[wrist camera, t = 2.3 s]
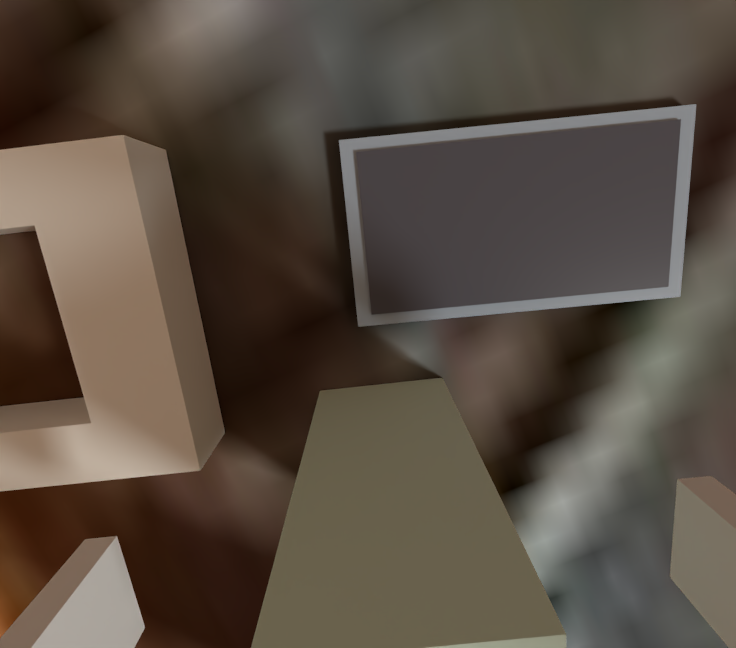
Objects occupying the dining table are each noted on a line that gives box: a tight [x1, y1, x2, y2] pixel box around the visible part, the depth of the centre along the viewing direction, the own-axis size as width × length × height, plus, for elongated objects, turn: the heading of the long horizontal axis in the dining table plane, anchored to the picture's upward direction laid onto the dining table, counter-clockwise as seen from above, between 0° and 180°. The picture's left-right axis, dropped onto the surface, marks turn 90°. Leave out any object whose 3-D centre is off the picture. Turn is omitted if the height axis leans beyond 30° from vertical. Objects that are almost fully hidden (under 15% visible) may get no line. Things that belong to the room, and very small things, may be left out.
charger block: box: [251, 378, 566, 648], centre depth 11 cm, size 4×4×10 cm
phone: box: [339, 104, 696, 327], centre depth 14 cm, size 6×11×1 cm, turn 95°
